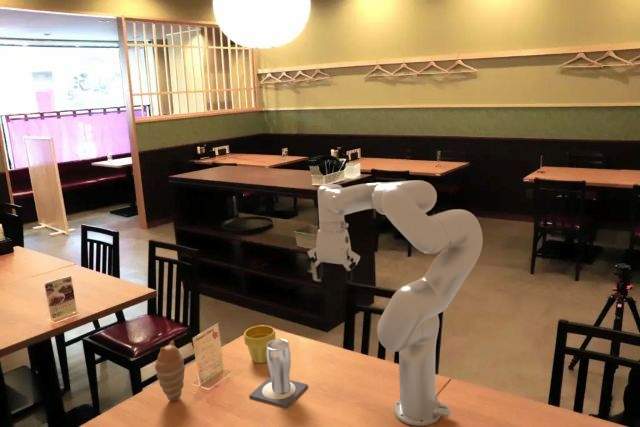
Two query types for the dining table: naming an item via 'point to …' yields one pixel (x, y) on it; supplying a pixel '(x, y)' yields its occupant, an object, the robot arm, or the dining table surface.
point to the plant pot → (259, 341)
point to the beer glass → (279, 366)
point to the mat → (284, 401)
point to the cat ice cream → (170, 371)
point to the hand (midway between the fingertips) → (334, 279)
